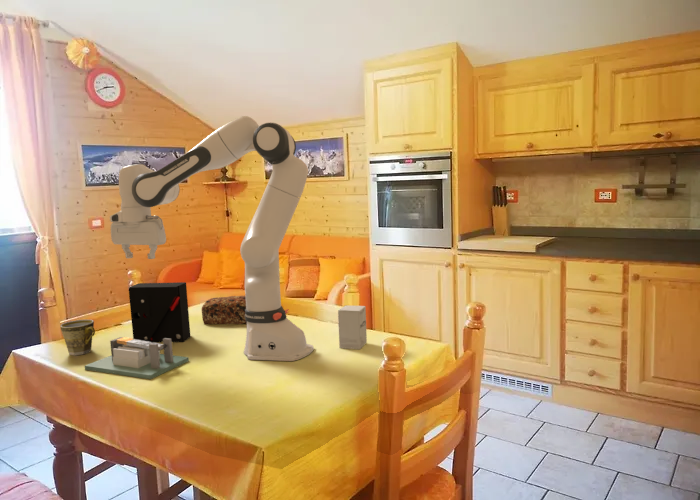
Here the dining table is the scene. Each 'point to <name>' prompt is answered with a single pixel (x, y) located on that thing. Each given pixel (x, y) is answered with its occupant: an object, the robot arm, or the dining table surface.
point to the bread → (224, 310)
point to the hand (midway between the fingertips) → (140, 258)
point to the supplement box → (352, 327)
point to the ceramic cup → (78, 336)
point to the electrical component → (159, 311)
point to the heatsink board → (136, 371)
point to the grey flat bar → (139, 343)
